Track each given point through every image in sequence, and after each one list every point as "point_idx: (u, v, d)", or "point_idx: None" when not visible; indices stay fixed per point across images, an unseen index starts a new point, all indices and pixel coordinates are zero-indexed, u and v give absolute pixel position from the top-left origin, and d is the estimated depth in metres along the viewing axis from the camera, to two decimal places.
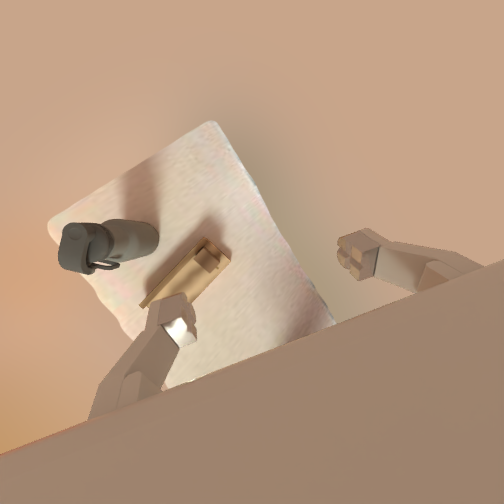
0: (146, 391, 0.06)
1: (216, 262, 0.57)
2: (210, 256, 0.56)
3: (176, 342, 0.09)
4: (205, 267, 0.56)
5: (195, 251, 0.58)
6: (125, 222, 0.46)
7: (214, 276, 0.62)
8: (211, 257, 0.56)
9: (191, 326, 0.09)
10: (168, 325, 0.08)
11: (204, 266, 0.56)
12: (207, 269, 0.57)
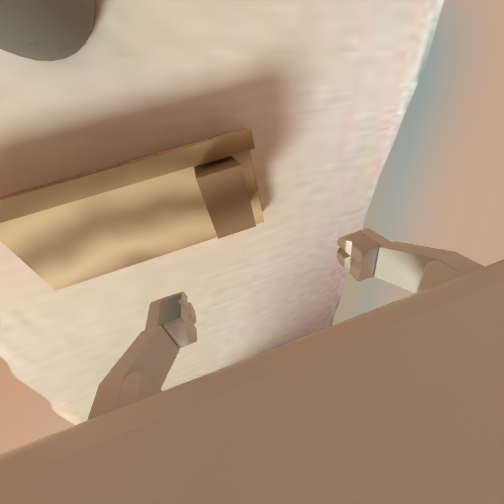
0: (146, 391, 0.06)
1: (250, 220, 0.20)
2: (245, 198, 0.19)
3: (176, 342, 0.09)
4: (217, 219, 0.20)
5: (207, 156, 0.19)
6: None
7: (213, 234, 0.26)
8: (246, 202, 0.19)
9: (191, 326, 0.09)
10: (168, 325, 0.08)
11: (215, 215, 0.19)
12: (219, 226, 0.20)
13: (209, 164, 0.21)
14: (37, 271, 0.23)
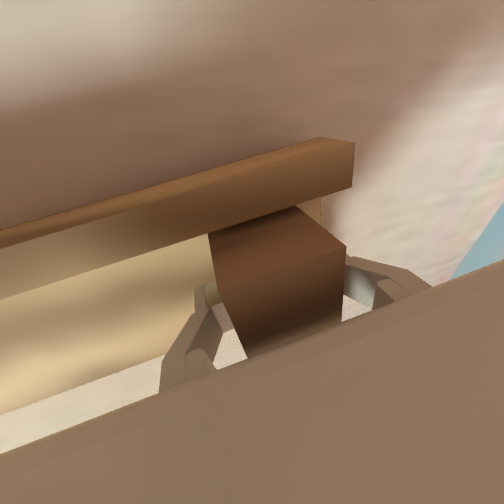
0: (208, 367, 0.07)
1: None
2: (333, 311, 0.08)
3: (221, 325, 0.09)
4: None
5: (241, 209, 0.08)
6: None
7: None
8: (333, 317, 0.08)
9: None
10: (216, 308, 0.08)
11: (259, 350, 0.08)
12: None
13: None
14: None
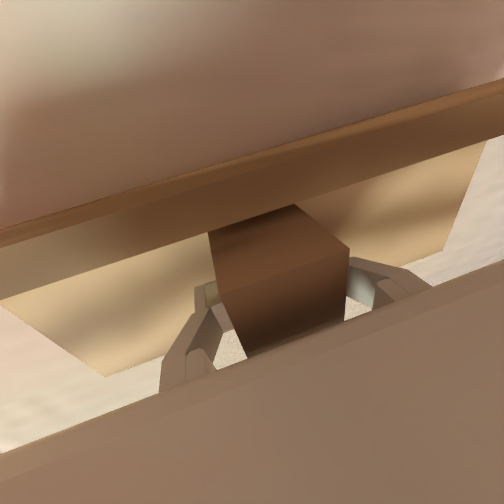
0: (208, 367, 0.07)
1: None
2: (335, 313, 0.08)
3: (221, 325, 0.09)
4: None
5: (481, 130, 0.08)
6: None
7: None
8: (335, 320, 0.08)
9: None
10: (216, 308, 0.08)
11: (260, 353, 0.08)
12: None
13: None
14: (77, 354, 0.12)
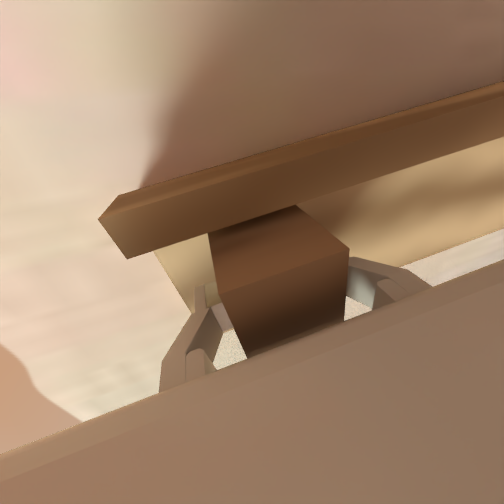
0: (208, 367, 0.07)
1: None
2: (335, 313, 0.08)
3: (221, 325, 0.09)
4: None
5: None
6: None
7: (448, 244, 0.16)
8: (335, 320, 0.08)
9: None
10: (216, 308, 0.08)
11: (259, 353, 0.08)
12: None
13: None
14: None
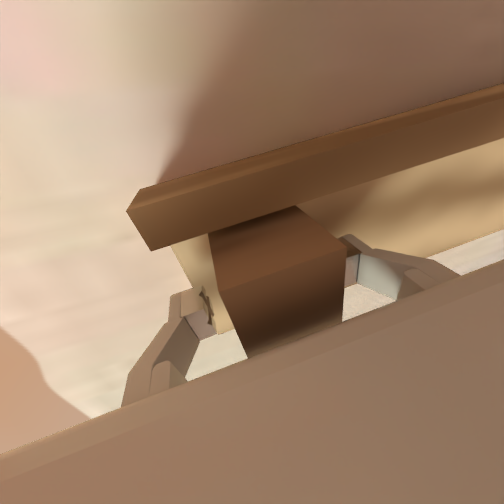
0: (175, 380, 0.07)
1: None
2: (333, 311, 0.08)
3: (197, 334, 0.09)
4: None
5: None
6: None
7: (456, 242, 0.16)
8: (333, 318, 0.08)
9: (211, 319, 0.09)
10: (190, 317, 0.08)
11: (259, 350, 0.08)
12: None
13: None
14: None
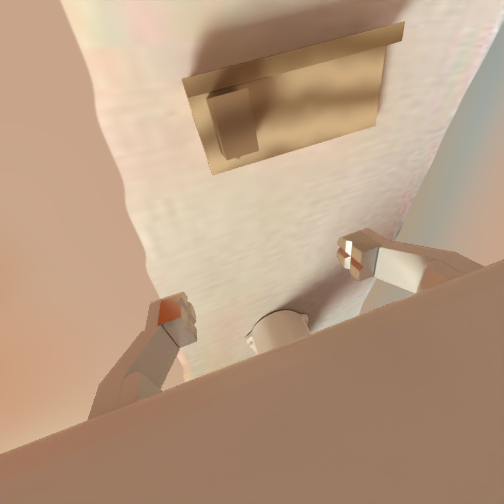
0: (146, 391, 0.06)
1: (254, 144, 0.24)
2: (250, 121, 0.23)
3: (176, 342, 0.09)
4: (226, 140, 0.23)
5: (368, 44, 0.24)
6: None
7: (336, 134, 0.31)
8: (251, 125, 0.23)
9: (191, 326, 0.09)
10: (168, 325, 0.08)
11: (225, 136, 0.23)
12: (228, 147, 0.24)
13: None
14: (207, 153, 0.28)
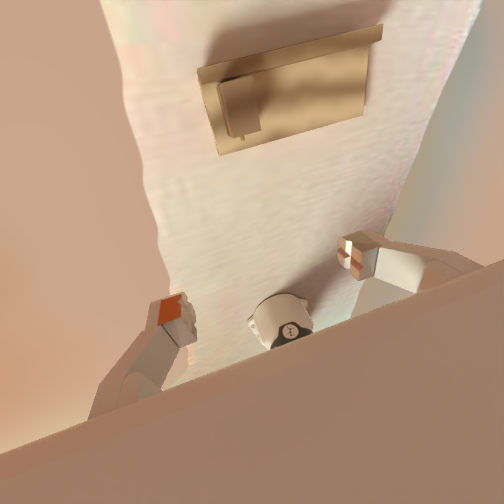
0: (146, 391, 0.06)
1: (257, 125, 0.28)
2: (254, 104, 0.27)
3: (176, 342, 0.09)
4: (233, 120, 0.27)
5: (353, 42, 0.28)
6: None
7: (328, 121, 0.35)
8: (254, 108, 0.27)
9: (191, 326, 0.09)
10: (168, 325, 0.08)
11: (232, 116, 0.27)
12: (234, 127, 0.28)
13: None
14: (216, 135, 0.32)
